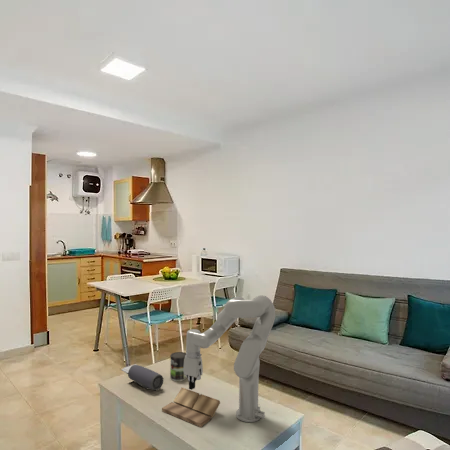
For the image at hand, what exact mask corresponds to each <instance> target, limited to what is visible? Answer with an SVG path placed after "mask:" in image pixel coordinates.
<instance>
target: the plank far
mask: <svg viewBox="0 0 450 450" xmlns="http://www.w3.org/2000/svg"><path fill="white" fill-rule="evenodd" d="M200 394H201V393H199V392H196V391H193V390H191V389H189V388H184V387H181V388H180V390H179V391H178V393H177V394H176V397H175V398H174V399H173V403H175V404H178V405H181V406H183V407H186V408H188V409H191V410H193V409H192V408H193V407H194V405H195V403H196V401H197V400H198V398H199V396H200Z"/></svg>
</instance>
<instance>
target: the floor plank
mask: <svg viewBox="0 0 450 450" xmlns="http://www.w3.org/2000/svg"><path fill="white" fill-rule="evenodd" d="M161 412H163V413H166V414H168V415H170V416H173V417H175V418H178V419H180V420H182V421H185V422H188V423H190V424H192V425H194V426H196V427H199V428H202V427H203V426H204V425H206V424H207V423H208V422H210V421H211V420H212V417H210V416H207V415H205V414H202V413H199V412H197V411H194V410H193V409H189V408H187V407H184V406H182V405H179V404H176V403H174V401H173V402H172V401H171V402H169V403H168V404H166V405H164V406H163V407H161Z"/></svg>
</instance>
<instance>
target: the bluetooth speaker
mask: <svg viewBox="0 0 450 450" xmlns="http://www.w3.org/2000/svg"><path fill="white" fill-rule="evenodd" d="M132 365H133V366H131V365H130V366H131V367H130V369H129V372H128V373H127V376H128V378H129V379H130V380H132V381H133V382H135V383H137V384H138V385H139V386H140V387H142V388H144V389H148V390H154V391H157V390H160V389H161V388H162V387H163V384H164V379H163V378H164V377H163V375H162V374H160V373H159V372H157V371H154V370H152V369H149V368H147V367H145V366H142V365H138V364H136V365H134V364H132Z"/></svg>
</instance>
